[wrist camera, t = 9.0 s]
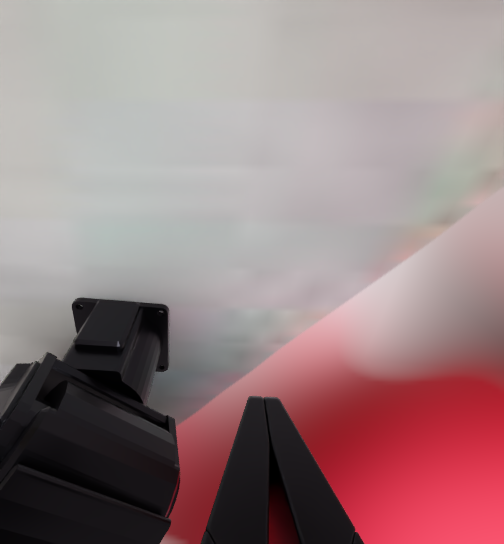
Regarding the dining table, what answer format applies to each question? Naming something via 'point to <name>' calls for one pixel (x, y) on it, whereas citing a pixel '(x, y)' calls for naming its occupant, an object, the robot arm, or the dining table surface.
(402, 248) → the dining table surface
